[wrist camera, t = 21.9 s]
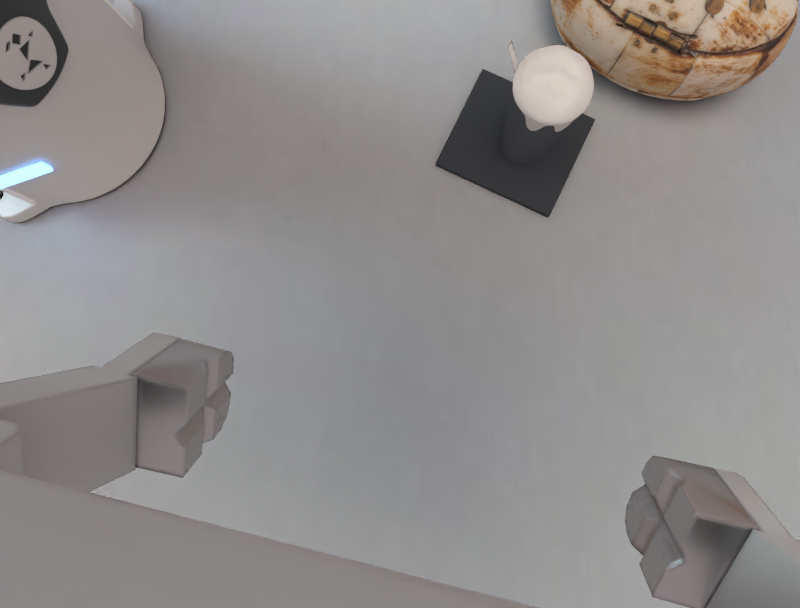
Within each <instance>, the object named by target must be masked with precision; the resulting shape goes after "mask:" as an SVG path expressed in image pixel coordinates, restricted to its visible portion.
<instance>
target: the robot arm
mask: <svg viewBox="0 0 800 608" xmlns="http://www.w3.org/2000/svg"><path fill="white" fill-rule="evenodd" d="M164 114H165V93H164V86H163V82H162V79H161V75H160V73H159V70H158V68H157V66H156V64H155V62H154V60H153V58H152V57H151V55H150V53H149V51H148V49H147V47H146V45H145V42H144V33H143V22H142V16H141V13H140V10H139V9H138V7H137V6H136V5H135V4H134V3H133V2H132V1H131V0H0V196H1V194H2V193H3V192H4V195H3V197H2V198H1V199H0V217H2V218H4V219H6V220H8V221H10V222H14V223H19V222H23V221H26V220H28V219H30V218H32V217H34V216H36V215H38V214H40V213H41V212H43V211H45V210H46V209H48V208H50V207H52V206H56V205H60V204H67V203H74V202H80V201H85V200H89V199H93V198H95V197H98V196H101V195H103V194H105V193H108V192H109V191H111V190H113V189H115V188H116V187H118V186H120V185H121V184H122V183H124V182H125V181H126V180H128V179H129V178H130V177H131V176H132V175H133V174H134V173H135V172H136V171H137V170H138V169H139V168H140V167H141V166H142V165H143V163H144V162H145V161H146V160H147V158H148V157H149V155H150V154H151V152H152V150H153V148H154V146H155V144H156V142H157V140H158V138H159V135H160V132H161V129H162V125H163V120H164ZM233 363H234V357H233V355H232V353H231V352H230V351H226V350H222V349H218V348H214V347H211V346H207V345H203V344H199V343H195V342H192V341H188V340H184V339H181V338H178V337H173V336H169V335H164V334H159V333H152V334H151V335H149V336H148V337H146V338H145V339H143V340H142V341H140V342H139V343H137V344H135V345H134V346H132V347H131V348H129V349H128V350H126V351H125V352H123V353H122V354H120V355H119V356H117V357H116V358H114V359H113V360H111V361H110V362H108V363H107V364H105V365H104V366H102V367H101V368H99V367H95V366H88V367H83V368H78V369H73V370H67V371H62V372H57V373H52V374H47V375H41V376H36V377H31V378H26V379H21V380H16V381H10V382H5V383H0V608H537V607H533V606H529V605H525V604H521V603H517V602H513V601H509V600H506V599H502V598H498V597H494V596H490V595H486V594H482V593H478V592H474V591H471V590H467V589H463V588H459V587H455V586H451V585H447V584H443V583H439V582H436V581H432V580H428V579H424V578H420V577H416V576H412V575H408V574H404V573H401V572H397V571H393V570H389V569H385V568H381V567H377V566H373V565H369V564H366V563H362V562H358V561H354V560H350V559H346V558H342V557H338V556H334V555H331V554H327V553H323V552H319V551H315V550H311V549H307V548H303V547H299V546H296V545H292V544H288V543H284V542H280V541H276V540H272V539H268V538H264V537H261V536H257V535H253V534H249V533H245V532H241V531H237V530H233V529H229V528H226V527H222V526H218V525H214V524H210V523H206V522H202V521H198V520H194V519H191V518H187V517H183V516H179V515H175V514H171V513H167V512H163V511H159V510H156V509H152V508H148V507H144V506H140V505H136V504H132V503H128V502H125V501H121V500H117V499H113V498H109V497H105V496H101V495H97V494H93V493H90V491H92V490H94V489H97V488H99V487H101V486H103V485H105V484H107V483H109V482H111V481H113V480H115V479H117V478H119V477H121V476H123V475H125V474H127V473H129V472H131V471H133V470H135V467H137V468H142V469H146V470H151V471H155V472H160V473H164V474H169V475H173V476H178V477H182V478H183V477H184V475H185V474H186V473H187V472H188V470H189V469H190V468H191V467H192V465H193V464H194V463H195V462H196V460H197V459H198V458H199V457H200V455H201V454H202V444H203V443H205V442H208V441H210V440H213V439H214V438H215V436H216V435H217V434H218V432H219V431H220V430H221V428H222V425H223V423H224V421H225V419H226V417H227V413H228V409H229V405H230V397H231V392H230V391H229V389H228V387H227V385H226V383H225V381H226V380H227V379H228V378H229V377H230V376H231V375H232V374H233ZM642 476H643V479H644V482H645V485H644V486H642V487H640V488H639V489H637V490H635V491H634V492H632V495H631V497H630V500H629V502H628V504H627V508H626V517H625V524H626V531H627V535H628V537H629V540H630V542H631V544H632V545H633V546H634V547H635V548H636V549H637V550H638V551H639V552H640V553H641V554H642V555H643V558H642V560H641V562H640V564H639V565H640V567H641V570H642V572H643V574H644V577H645V579H646V582H647V584H648V587H649V589H650V591H651V594H652V596H653V597H654V598H658V599H661V600H665V601H669V602H672V603H676V604H679V605H683V606H686V607H690V608H800V540H796V539H794V538H793V537H792V536H791V535H790V533H789V532H788V531H787V530H786V528H785V527H784V526H783V525H782V524H781V522H780V521H779V520H778V519H777V517H776V516H775V515H774V514H773V512H772V511H771V510H770V509H769V508H768V506H767V505H766V504H765V503H764V501H763V500H762V499H761V498H760V496H759V495H758V494H757V493H756V492H755V490H754V489H753V488H752V487H751V485H750V484H749V483H748V482H747V480H746V479H745V478H744V477H742V476H741V475H739V474H737V473H734V472H729V471H724V470H719V469H714V468H710V467H705V466H701V465H696V464H692V463H687V462H682V461H678V460H673V459H669V458H664V457H658V456H652V457H651V458H650V459H649V461H648V462H647V463H646V465H645V467H644V469H643V471H642Z"/></svg>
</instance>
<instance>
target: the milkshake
mask: <svg viewBox="0 0 800 608" xmlns="http://www.w3.org/2000/svg"><path fill="white" fill-rule="evenodd" d="M508 49H509V53H510V57H511V60H512V64H513V68H514V71H515V75H514V78H513V84H512V89H511V94H510V100H509V106H508V110H507V114H506V118H505V122H504V126H503V130H502V135H501V146H500V149H501V151H502V152H503V154H504V155H505V157H506V159H507V160H508V161H511V162H513V163H515V164H518V165H520V166H521V165H526V164H531V163H535V162H536V160H537V159H538V158H539V157H540V156H541V155H542V154H543V153H544V152H545V151H546V149H547V148H548V147H549V146H550V145H551V144H552V143H553V142H554V140H555V139H556V138H557V137H558V136H559V135H560V134H561V133H562V132H564V131H565V130H566V129H567V128H568V127H569V126H570V125H571V124H572V123H573V122H574V121H575V120H576V119H577V118H578V117H579V116H580V115H581V114H582V113H583V112H584V111H585V110H586V108H587V107H588V105H589V103H590V101H591V99H592V96H593V92H594V79H593V74H592V70H591V68H590V65H589V63H588V62H587V60H586V59H585V58H584V57H583V56H582V55H580V54H579V53H577V52H575V51H574V50H572V49H570V48H568V47H566V46H563V45H553V46H548V47H544V48H540V49H537V50H534V51H532V52H531V53H529V54H528V55H527V56H526V57H525V58H524V59H523V60H522V61H521V63H520V64H519V66H518V62H517V58H516V54H515V51H514V47H513V43H512V41H511V42H510V44H509V46H508Z"/></svg>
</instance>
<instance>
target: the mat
mask: <svg viewBox="0 0 800 608" xmlns="http://www.w3.org/2000/svg"><path fill="white" fill-rule="evenodd" d="M512 84H513V82H511V81H508V80H506V79H504V78H502V77H499V76H497V75H495V74H493V73H490V72H488V71H486V70H484V69H483V70H482V72H481V74H480V76H479V78H478V80H477V82H476V84H475V86H474V88H473V90H472V92H471V94H470V96H469V98H468V100H467V102H466V104H465V106H464V108H463V110H462V112H461V114H460V116H459V118H458V120H457V122H456V124H455V126H454V128H453V130H452V132H451V134H450V136H449V138H448V140H447V142H446V144H445V146H444V148H443V150H442V152H441V154H440V156H439V158H438V160H437V162H436V166H438V167H441V168H443V169H445V170H447V171H449V172H451V173H454V174H456V175H458V176H460V177H462V178H464V179H467V180H469V181H471V182H473V183H475V184H477V185H479V186H482V187H484V188H486V189H488V190H490V191H492V192H495V193H497V194H499V195H501V196H503V197H505V198H508V199H510V200H512V201H514V202H516V203H518V204H520V205H523V206H525V207H527V208H529V209H531V210H533V211H536V212H538V213H540V214H542V215H544V216H546V217H549V216H550V214H551V211H552V209H553V207H554V205H555V203H556V201H557V199H558V197H559V195H560V192H561V190H562V188H563V186H564V184H565V182H566V180H567V178H568V176H569V173H570V171H571V169H572V167H573V165H574V163H575V161H576V159H577V156H578V154H579V152H580V150H581V148H582V146H583V144H584V142H585V140H586V137H587V135H588V133H589V131H590V129H591V127H592V125H593V123H594V121H595V119H593V118H591V117H589V116H587V115H584V114H581V115H580V116H579V117H578V118H577V119H576V120H575V121H574V122H573V123H572V124H571V125H570V126H569V127H568V128H567V129H566V130H565V131H564V132H562V133H561V134H560V135H559V136H558V137H557V138H556V139H555V140H554V142H553V143H552V144H551V145H550V146H549V147H548V148H547V149H546V151H545V152H544V153H543V154H542V155H541V156H540V157H539V158H538V159H537V160H536V162H535V163H531V164H526V165H521V166H520V165H518V164H515V163H513V162H511V161H508V160H507V159H506V157H505V155H504V154H503V152H502V151H501V149H500V146H501V135H502V130H503V126H504V122H505V118H506V114H507V110H508V106H509V100H510V94H511V89H512Z"/></svg>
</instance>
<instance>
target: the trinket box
mask: <svg viewBox="0 0 800 608" xmlns="http://www.w3.org/2000/svg"><path fill="white" fill-rule="evenodd" d="M551 7H552V12H553V16H554V19H555V23H556V27H557V30H558V32H559V34H560V37H561V39H562V41H563V42H564V43H565V44H566V46H567V47H568V48H570V49H572V50H574V51H575V52H577V53H579V54H580V55H582V56H583V57H584V58H585V59H586V60H587V62H588V63H589V65H590V67H591V68H592V69H594V70H595V71H597V72H598V73H600V74H602V75H603V76H605V77H606V78H608V79H609V80H611V81H612V82H615V83H616V84H618V85H620V86H622V87H625V88H627V89H629V90H631V91H634V92H637V93H640V94H644V95H647V96H652V97H657V98H661V99H669V100H680V101H694V100H700V99H703V98H707V97H711V96H716V95H720V94H724V93H727V92H730V91H732V90H735V89H737V88H739V87H741V86H743V85H745V84H747V83H748V82H750V81H751V80H753V79H754V78H756V77H757V76H758V75H760V74H761V73H762V72H763V71H764V70H765V69H767V68H768V67H769V66H770V65H771V64H772V63H773V62H774V60H775V59H776V58H777V57H778V55H779V54H780V53H781V51H782V50H783V48H784V47H785V45H786V43H787V42H788V40H789V38H790V36H791V34H792V31H793V29H794V26H795V23H796V19H797V13H798V0H551Z"/></svg>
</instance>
